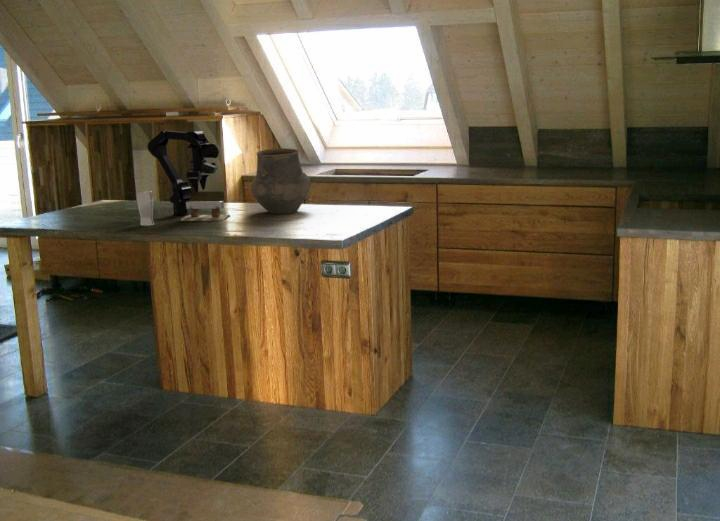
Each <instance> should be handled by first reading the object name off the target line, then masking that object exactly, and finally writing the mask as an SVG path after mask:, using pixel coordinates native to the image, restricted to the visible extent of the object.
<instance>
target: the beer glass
mask: <svg viewBox="0 0 720 521" xmlns="http://www.w3.org/2000/svg"><path fill="white" fill-rule="evenodd" d="M136 200H137V207H138V212H139V214H140V226H141V227H149V226H154V225H155V221H154V216H153V214H154V196H153V192H152V191H151V190H143V191H141V190H140V191H137V192H136Z"/></svg>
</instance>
